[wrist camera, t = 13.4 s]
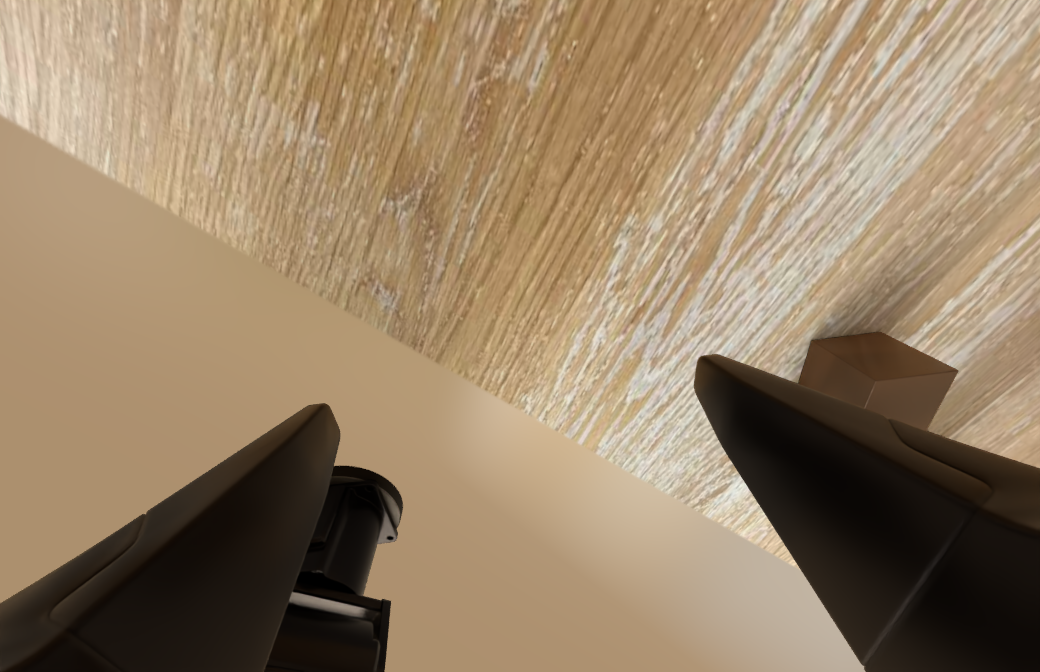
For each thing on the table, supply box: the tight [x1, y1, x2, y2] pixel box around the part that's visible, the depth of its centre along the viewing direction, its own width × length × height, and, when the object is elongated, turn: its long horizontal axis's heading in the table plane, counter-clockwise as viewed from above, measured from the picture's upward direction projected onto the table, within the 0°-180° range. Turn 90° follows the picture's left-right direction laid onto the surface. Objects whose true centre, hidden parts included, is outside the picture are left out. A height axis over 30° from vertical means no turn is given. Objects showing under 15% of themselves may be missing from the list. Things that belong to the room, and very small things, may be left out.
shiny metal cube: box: [799, 332, 958, 430], centre depth 23 cm, size 4×4×4 cm
